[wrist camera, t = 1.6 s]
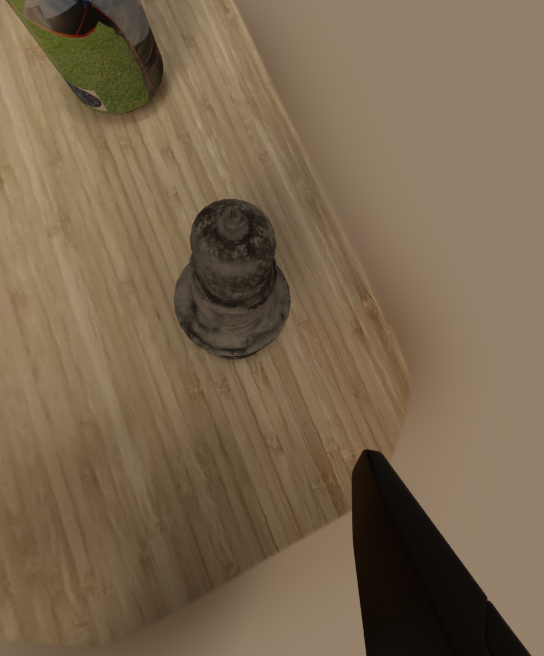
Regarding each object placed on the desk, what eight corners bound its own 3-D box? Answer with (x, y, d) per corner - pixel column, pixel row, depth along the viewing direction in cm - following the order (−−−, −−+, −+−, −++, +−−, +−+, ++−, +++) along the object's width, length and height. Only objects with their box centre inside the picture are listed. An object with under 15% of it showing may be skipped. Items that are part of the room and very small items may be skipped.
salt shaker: (230, 385, 21) (228, 358, 9) (162, 313, 21) (77, 200, 10) (301, 318, 22) (377, 220, 11) (235, 251, 23) (238, 87, 11)
